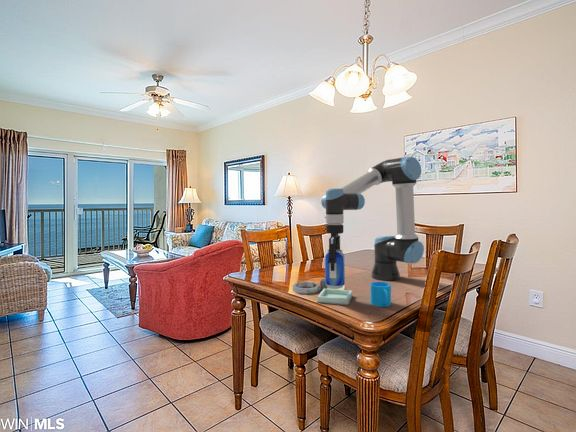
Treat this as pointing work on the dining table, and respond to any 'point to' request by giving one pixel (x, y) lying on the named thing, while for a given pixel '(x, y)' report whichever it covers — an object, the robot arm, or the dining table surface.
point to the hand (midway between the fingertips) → (334, 275)
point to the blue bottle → (340, 271)
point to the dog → (322, 285)
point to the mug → (380, 294)
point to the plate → (338, 288)
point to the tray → (335, 296)
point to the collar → (298, 288)
